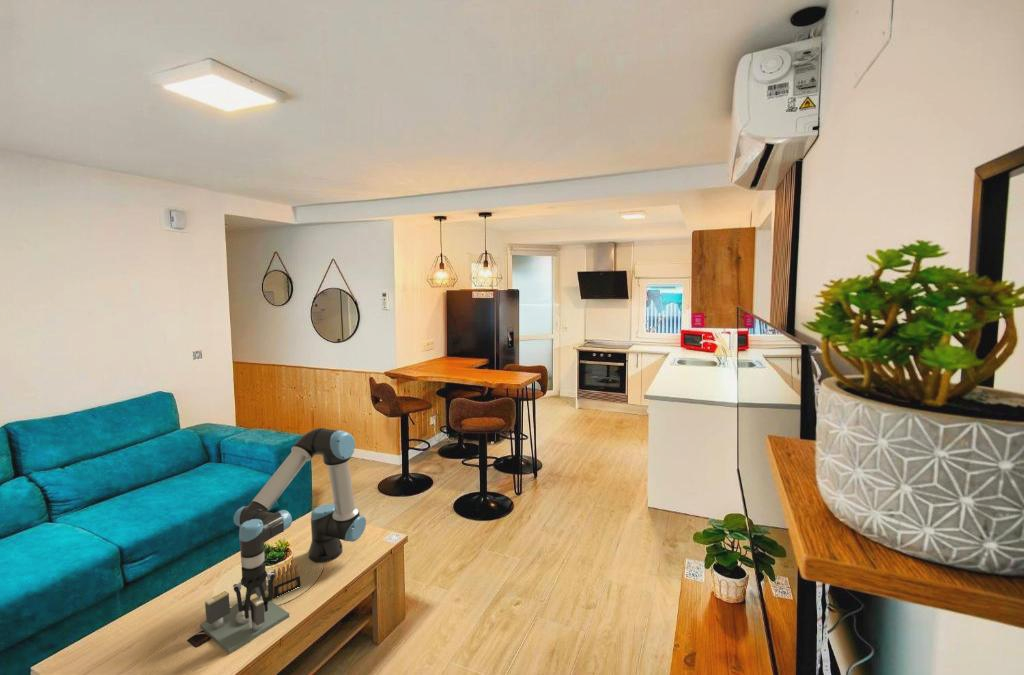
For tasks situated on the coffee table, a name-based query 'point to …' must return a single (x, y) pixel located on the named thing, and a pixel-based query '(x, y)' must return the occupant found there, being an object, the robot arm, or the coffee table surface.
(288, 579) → the ammunition clip
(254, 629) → the knob
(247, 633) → the plate
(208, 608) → the knob
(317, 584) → the coffee table surface
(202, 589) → the coffee table surface
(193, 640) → the smartphone
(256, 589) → the grey brown rectangular block
